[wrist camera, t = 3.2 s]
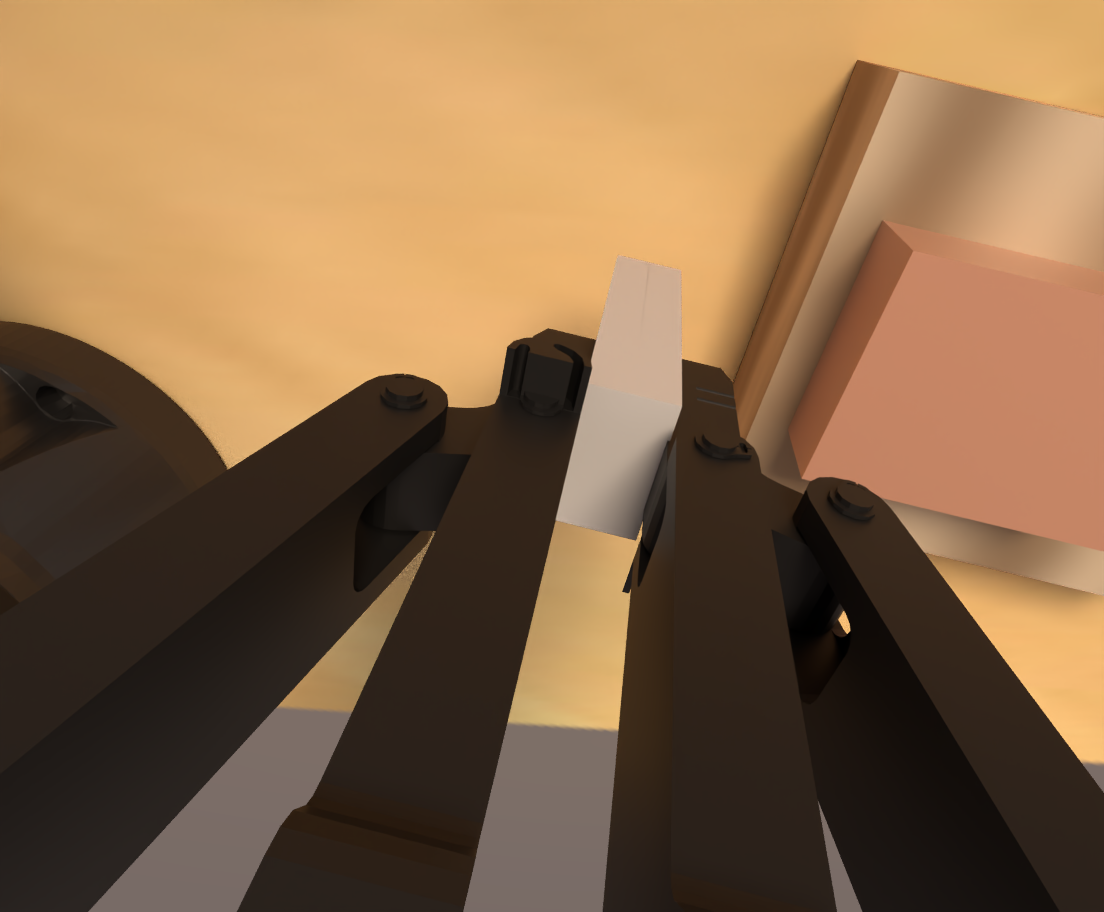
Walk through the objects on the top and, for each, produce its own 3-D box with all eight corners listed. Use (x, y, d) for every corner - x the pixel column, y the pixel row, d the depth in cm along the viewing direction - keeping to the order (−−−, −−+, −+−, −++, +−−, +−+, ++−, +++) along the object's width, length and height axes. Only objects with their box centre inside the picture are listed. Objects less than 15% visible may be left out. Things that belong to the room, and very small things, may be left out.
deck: (712, 436, 25) (719, 502, 22) (857, 60, 18) (899, 71, 15) (1151, 542, 25) (1226, 625, 21) (1461, 199, 18) (1641, 243, 15)
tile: (787, 429, 20) (801, 478, 18) (882, 220, 16) (913, 250, 14) (1062, 495, 20) (1108, 552, 18) (1213, 297, 16) (1292, 340, 14)
